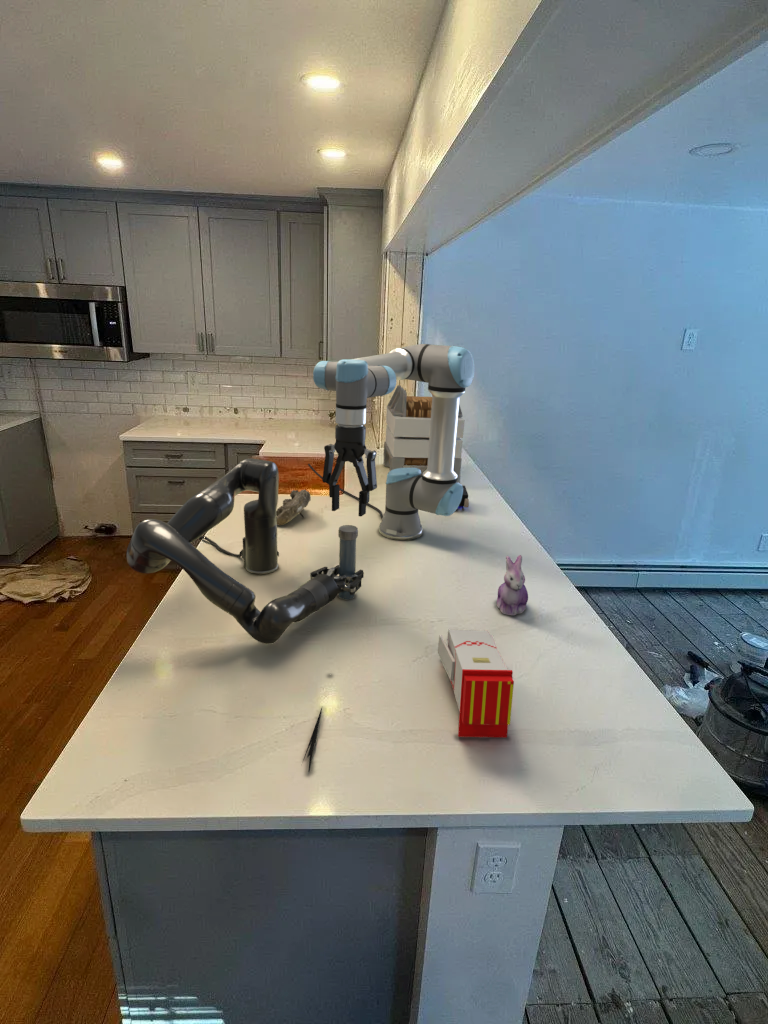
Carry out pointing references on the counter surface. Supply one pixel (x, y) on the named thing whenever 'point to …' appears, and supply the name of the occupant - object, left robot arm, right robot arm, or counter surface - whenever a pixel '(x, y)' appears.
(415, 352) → the right robot arm
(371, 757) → the counter surface
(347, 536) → the lid
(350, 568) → the bottle
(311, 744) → the feather
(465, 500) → the figurine character
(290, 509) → the fossil
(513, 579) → the figurine
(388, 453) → the white wooden crate
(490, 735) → the toy
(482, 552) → the counter surface
